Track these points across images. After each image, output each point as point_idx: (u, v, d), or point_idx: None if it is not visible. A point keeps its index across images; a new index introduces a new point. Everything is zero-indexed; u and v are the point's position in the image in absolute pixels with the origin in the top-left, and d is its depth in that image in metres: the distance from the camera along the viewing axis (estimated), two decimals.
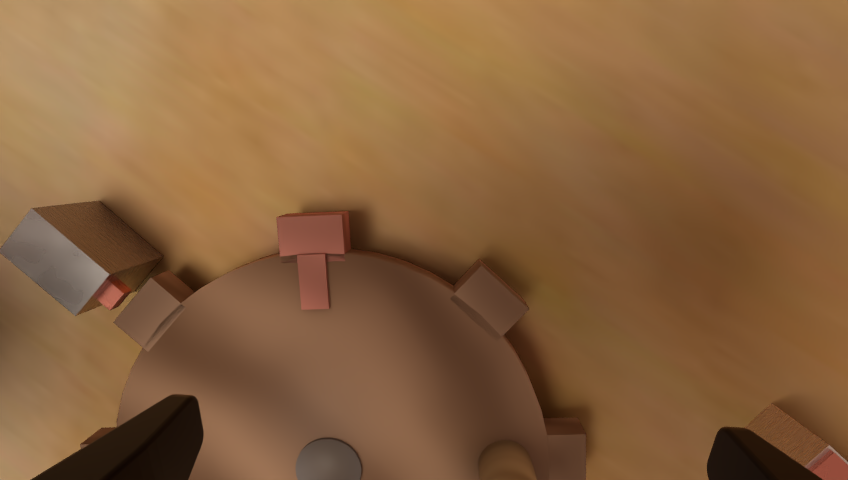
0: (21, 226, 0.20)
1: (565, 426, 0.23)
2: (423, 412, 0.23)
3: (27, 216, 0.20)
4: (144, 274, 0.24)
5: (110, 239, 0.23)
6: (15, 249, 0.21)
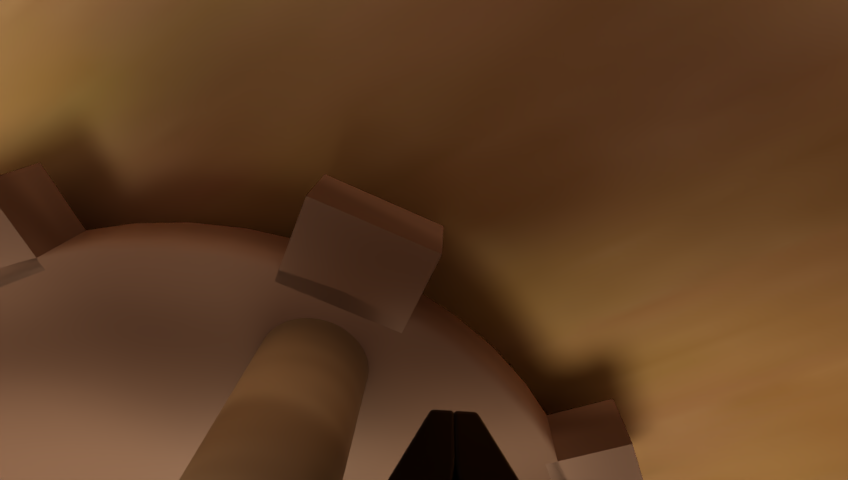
0: None
1: None
2: (161, 436, 0.12)
3: None
4: None
5: None
6: None
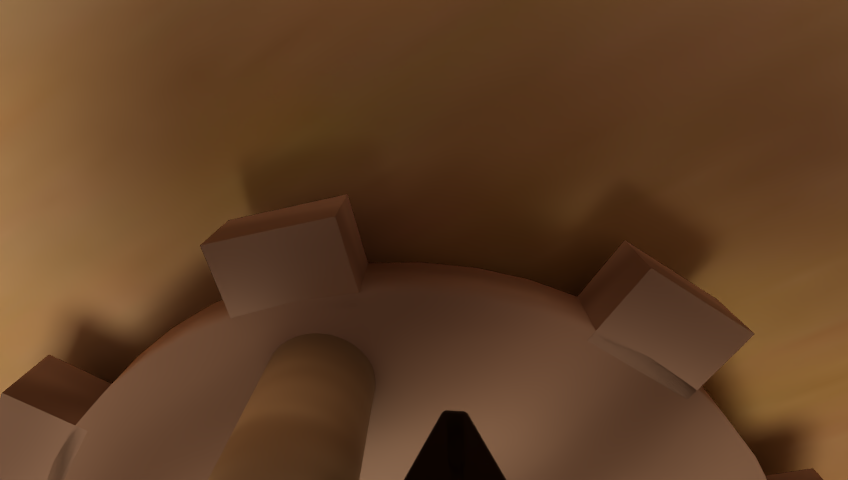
0: None
1: None
2: None
3: None
4: None
5: None
6: None
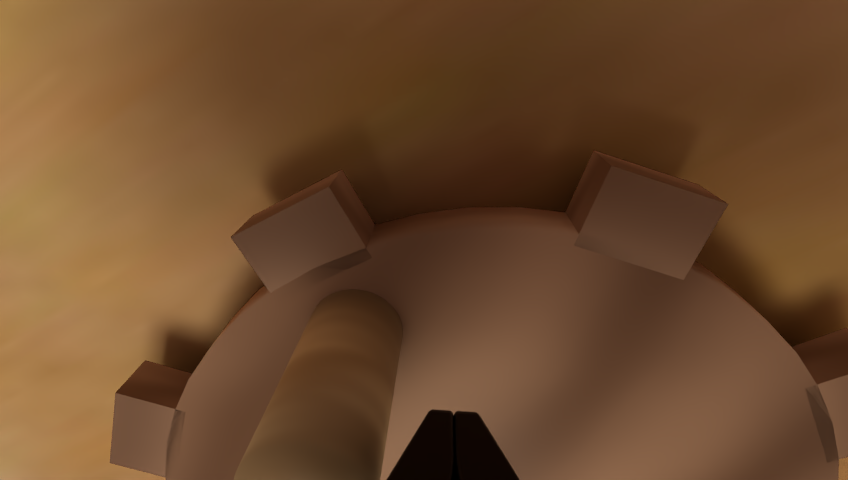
0: None
1: None
2: None
3: None
4: None
5: None
6: None
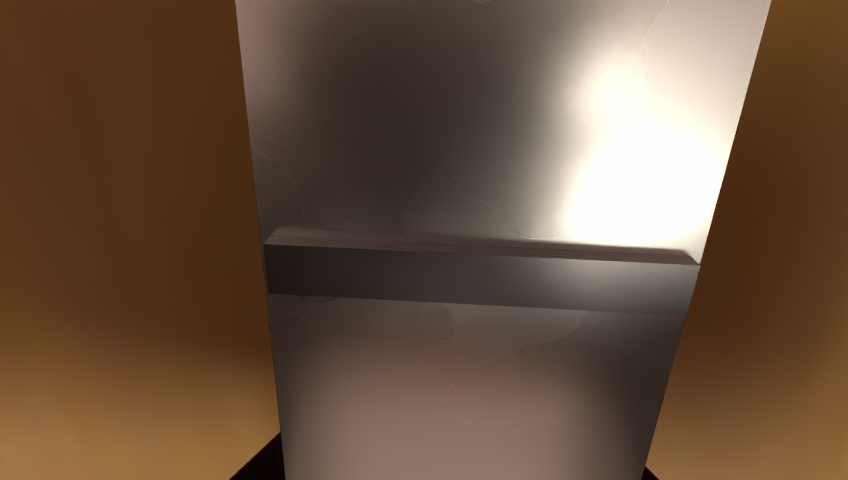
0: None
1: None
2: None
3: None
4: None
5: None
6: None
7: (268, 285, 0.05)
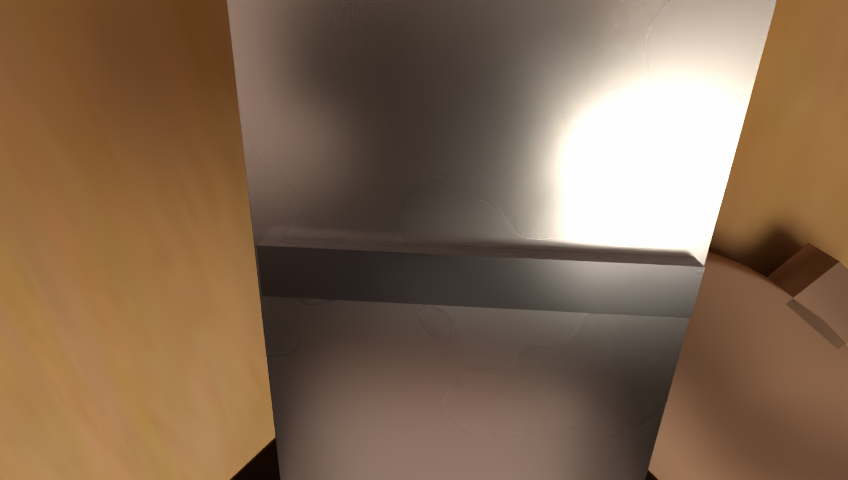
0: None
1: None
2: None
3: None
4: None
5: None
6: None
7: (262, 287, 0.04)
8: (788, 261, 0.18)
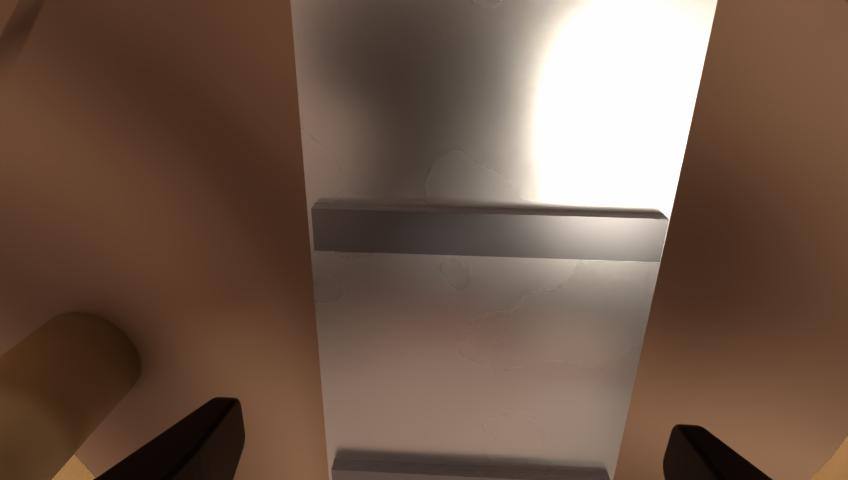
0: None
1: None
2: (260, 437, 0.13)
3: None
4: None
5: None
6: None
7: (314, 243, 0.06)
8: None
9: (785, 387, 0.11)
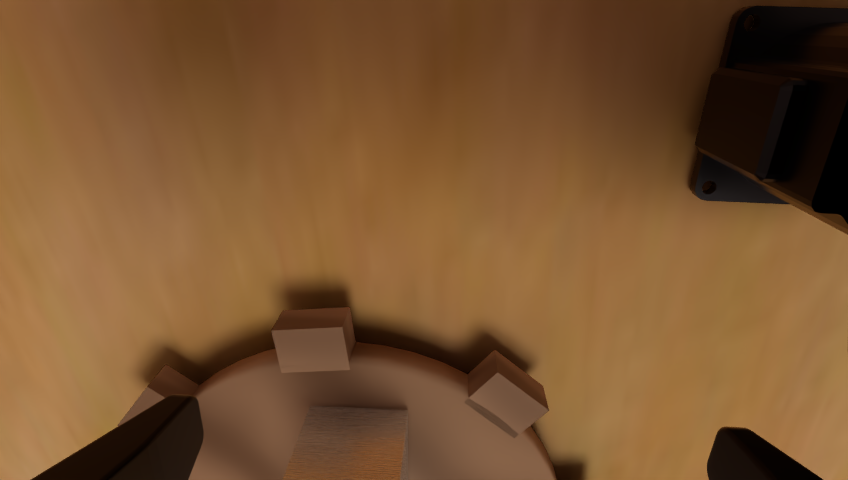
0: None
1: None
2: None
3: None
4: None
5: None
6: None
7: None
8: (481, 362, 0.21)
9: None
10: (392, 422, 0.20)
